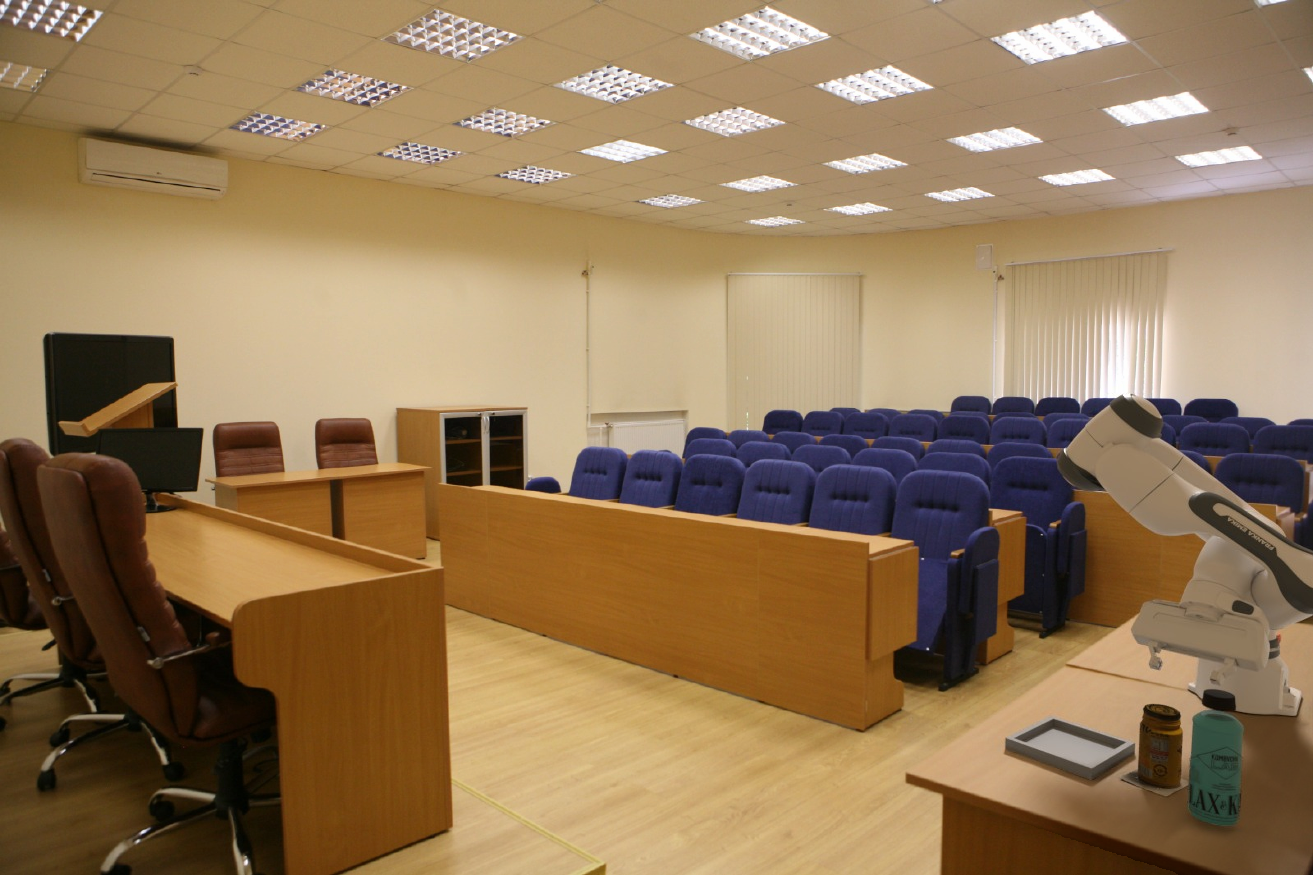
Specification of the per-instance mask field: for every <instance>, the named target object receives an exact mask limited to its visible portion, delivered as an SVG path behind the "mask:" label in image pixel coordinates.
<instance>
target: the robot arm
mask: <svg viewBox="0 0 1313 875" xmlns="http://www.w3.org/2000/svg"><path fill="white" fill-rule="evenodd" d="M1163 427H1164V419H1163V416H1162V415H1161V413H1160V412H1159V410H1158V409H1157V407H1156V405H1154V404H1153V403H1152V402H1150V401H1149V400H1147V399H1146V398H1144V397H1142V396H1138V395H1136V394H1134V393H1123V394H1120V395H1119V396H1117V397H1115V398H1114V399H1112V400H1111V401H1110V402H1109V405H1107V406H1106V407H1104V408H1103V409H1102V410H1101V411H1099V412H1098V413H1097V414H1096V415H1095V416H1094V417H1092V419H1090V420H1089V421H1088V422H1087V423H1086V424H1085V426H1084V427H1083V428H1082V430H1081V431H1080V432H1079V433H1078V434H1076V436H1075V437H1074V438H1073V439H1072V441H1071V442H1070V444H1069V445H1068V446H1067V447H1065V448H1063V449H1062V451H1061V453H1060V454H1059V455H1058V457H1057V459H1056V465H1057V466H1056V467H1057V470H1058V472H1059V473H1060V474H1061V476H1062V477H1063V479H1065V480H1066V482H1068V483H1069V484H1070V485H1072V486H1073V487H1075V488H1077V489H1079V490H1080V491H1083V492H1098V491H1102V492H1105V491H1106V493H1108V495H1109V496H1110V497H1111V498H1112V499H1113V500H1114V501H1115V503H1116V504H1118V505H1119V506H1120V507H1121V508H1122V509H1123V510H1124V511H1125V512H1126V513H1127V514H1129V515H1130V516H1131V517H1132V518H1133V519H1135V521H1136V522H1138V523H1139V524H1140V525H1141V526H1143V527H1144V528H1146V529H1148V530H1149V531H1151V532H1152V533H1154V534H1156V535H1161V536H1168V537H1172V536H1173V537H1175V536H1177V537H1178V536H1182V535H1183V536H1184V535H1191V534H1192V535H1193V534H1195V535H1196V536H1197V537H1199V539H1201V540H1202V541H1204V542H1205V544H1204V546H1203V547H1202V549H1201V551H1200V552H1199V554H1198V557H1197V559H1196V561H1195V564H1194V566H1193V575H1192V578H1191V579H1190V580H1189V581H1188V582H1187V584H1186V586H1185V588H1184V591H1183V593H1182V597H1181V598H1180V602H1175V601H1169V600H1168V601H1167V600H1162V599H1160V598H1154V599H1153V600H1147V601H1144V602H1143V603H1142V605H1141V608H1140V611H1139V613H1138V615H1137V616H1136V618H1135V620H1134V622H1133V623H1132V625H1131V628H1130V633H1131V636H1132V637H1133V639H1134V640H1135V642H1136V643H1137V644H1138V645H1141V646H1144V647H1147V648H1148V650H1149V653H1150V654H1149V655H1150V659H1149V661H1148V666H1149V668H1150V669H1152V670H1156V671H1162V670H1161V669H1162V667H1163V664H1164V662H1163V660H1162V658H1161V657H1160V656H1157V654H1161V651H1162V650H1163V651H1167V652H1169V653H1170V652H1171V653H1176V654H1179V655H1183V656H1188V657H1192V658H1197V663H1196V673H1195V674H1196V675H1195V680H1194V681H1193V682H1189V683H1187V687H1186V688H1187V689H1188V690H1189V691H1191V692H1192V693H1195V694H1196V695H1197V696H1198V697H1199V698H1200V699H1201V700H1202V699H1203V692H1204V690H1207V689H1217V690H1223V691H1227V692H1229V693H1232V694H1233V695H1234V696H1235V701H1236V710H1235V711H1234V712H1240V713H1244V714H1245V713H1247V714H1254V715H1280V716H1281V715H1282V716H1291V717H1292V716H1293V717H1294V716H1297V714H1298V711H1299V708H1300V704H1301V700H1302V696H1303V695H1302V691H1301V690H1300V689H1297V688H1295V687H1292V686H1289V678H1290V677H1289V676H1290V673H1289V672H1290V668H1289V667H1288V666H1287V664H1286V663H1285V662H1284V661H1283V659H1282V658H1281V657H1280V654H1281V650H1280V649H1281V641H1282V634H1281V633H1277V631H1278V630H1282V629H1284V628H1287V627H1289V626H1292V625H1293V624H1296V623H1299V622H1301V621H1303V620H1305V619H1308V618H1310V617H1312V616H1313V550H1312V549H1309V548H1307V547H1304V546H1302V545H1300V544H1298V543H1296V542H1294V541H1293V540H1291V539H1290V538H1288V537H1287V536H1286V533H1285V532H1284V530H1283V529H1282V528H1281V527H1280V526H1279V525H1278V524H1277V523H1276V522H1274V521H1273V520H1271V519H1269V518H1268V517H1267V516H1265V515H1264V514H1262V513H1260V512H1259V511H1258V510H1256V509H1255V508H1254V507H1253V506H1251V505H1250V504H1249V503H1247V502H1246V501H1245V500H1244V499H1242V498H1241V497H1240V496H1238V495H1237V494H1236V493H1234V492H1233V491H1232V490H1230V489H1229V488H1228V487H1227V486H1225V484H1223V483H1222V482H1221V481H1219V480H1218V479H1217V478H1215V477H1214V476H1213V475H1211V474H1210V473H1209V472H1208V471H1206V470H1205V469H1204V468H1202V467H1201V466H1200V465H1198V464H1197V463H1196V462H1194V461H1193V460H1192V459H1191V458H1189V457H1188V456H1187V455H1185V454H1184V453H1183V452H1181V451H1180V450H1178V449H1177V448H1175V447H1174V446H1172V445H1171V444H1170V443H1168V442H1166V441H1165V440H1163V439H1162V436H1163V435H1162V433H1161V432H1162V430H1163Z"/></svg>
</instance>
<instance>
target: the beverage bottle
mask: <svg viewBox="0 0 1313 875" xmlns="http://www.w3.org/2000/svg"><path fill="white" fill-rule="evenodd" d="M1201 704H1202V706H1203V707H1205V708H1206V709H1205V710H1204V709H1203V710H1202V711H1200V712H1197V713H1196V714H1194V715H1193V716H1192V727H1191V728H1192V729H1191V732H1192V733H1191V746H1190V747H1191V748H1190V757H1189V759H1188V760H1189V771H1188V780H1187V781H1188V782H1189V785H1188V791H1187V802H1186V804H1187V808H1188V811H1189V813H1190V815H1192V816H1193V817H1194V818H1196V819H1197V820H1200V821H1202V822H1205V823H1208V824H1211V825H1217V826H1222V827H1229V826H1234V825H1236V824H1237V823H1238V822H1239V819H1240V815H1241V814H1240V813H1241V810H1240V809H1241V806H1242V805H1241V804H1242V803H1241V802H1242V792H1241V787H1242V782H1243V781H1242V777H1243V775H1242V765H1243V759H1244V757H1243V754H1242V753H1243V737H1244V736H1243V735H1244V728H1245V727H1244V725H1243V724H1242V723H1241V722H1240V721H1239V720H1238V719H1237V718H1236V717H1235V715H1233V714H1231V712H1236V711H1235V710H1236V701H1235V696H1234V695H1233V694H1232V693H1229V692H1227V691H1223V690H1217V689H1207V690H1204V692H1203V699H1201ZM1207 708H1208V709H1207Z"/></svg>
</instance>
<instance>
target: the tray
mask: <svg viewBox="0 0 1313 875" xmlns="http://www.w3.org/2000/svg"><path fill="white" fill-rule="evenodd" d="M1004 740H1005V741H1004V744H1005V745H1004V749H1005V750H1007V751H1011V752H1013V753H1016V754H1019V755H1021V756H1024V757H1027V758H1029V759H1032V760H1035V761H1038V762H1041V763H1043V764H1046V765H1049V766H1051V767H1054V768H1057V769H1059V770H1062V771H1065V772H1067V773H1069V774H1073V775H1076V776H1078V777H1081V778H1084V779H1087V780H1090V781H1093V780H1095V779H1096V778H1098V777H1099V776H1101V775H1103V774H1105V773H1106V772H1107V771H1109V770H1110V769H1113V768H1114V767H1116V766H1117V765H1119V764H1121V763H1122V762H1124V761H1126V760H1127V759H1128V758H1130V757H1132V756H1133V755H1135V754H1136V742H1135V741H1132V740H1129V739H1125V738H1122V737H1119V736H1115V735H1114V734H1113V735H1112V734H1110V733H1106V732H1104V731H1100V730H1098V729H1097V730H1096V729H1094V728H1091V727H1087V726H1085V725H1081V724H1078V723H1074V722H1073V721H1069V720H1066V719H1063V718H1059V717H1056V716H1053V715H1050V716H1047V717H1046V718H1043V719H1041V720H1039V721H1037V722H1035V723H1033V724H1032V725H1031V724H1030V725H1028V726H1027V727H1025V728H1023V729H1021V730H1019V731H1016V732H1014V733H1012V734H1010V735H1008V736H1007V737H1005V739H1004Z"/></svg>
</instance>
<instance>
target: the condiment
mask: <svg viewBox="0 0 1313 875" xmlns="http://www.w3.org/2000/svg"><path fill="white" fill-rule="evenodd" d="M1142 711H1143V714H1142V718H1141V719H1142V720H1140V722H1139V737H1138V738H1139V740H1138V759H1137V769H1136V770H1133V771H1130V772H1128V773H1126V774H1124V775H1121V776H1120V777H1119V779H1122V780H1123V781H1124V782H1128V783H1130V784H1133V785H1135V786H1137V787H1139V788H1141V789H1144V790H1146V791H1150V792H1153V793H1155V794H1157V795H1160V796H1163V797H1168V796H1170V795H1172V794H1173V793H1176V792H1178V791H1180V790H1182V789H1183V788H1186V787H1188V786H1189V782H1188V781H1189V780H1188V779H1184V778H1182V765H1183V764H1182V763H1183V762H1182V761H1183V760H1182V758H1183V741H1184V739H1183V738H1184V733H1183V732H1184V731H1183V728H1182V727H1181V725H1182V721H1181V717H1182V715H1181V712H1180V711H1179V710H1178V709H1177V708H1174V707H1172V706H1169V705H1165V704H1161V703H1160V704H1159V703H1150V704H1145V705H1144V706H1143V708H1142Z"/></svg>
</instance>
